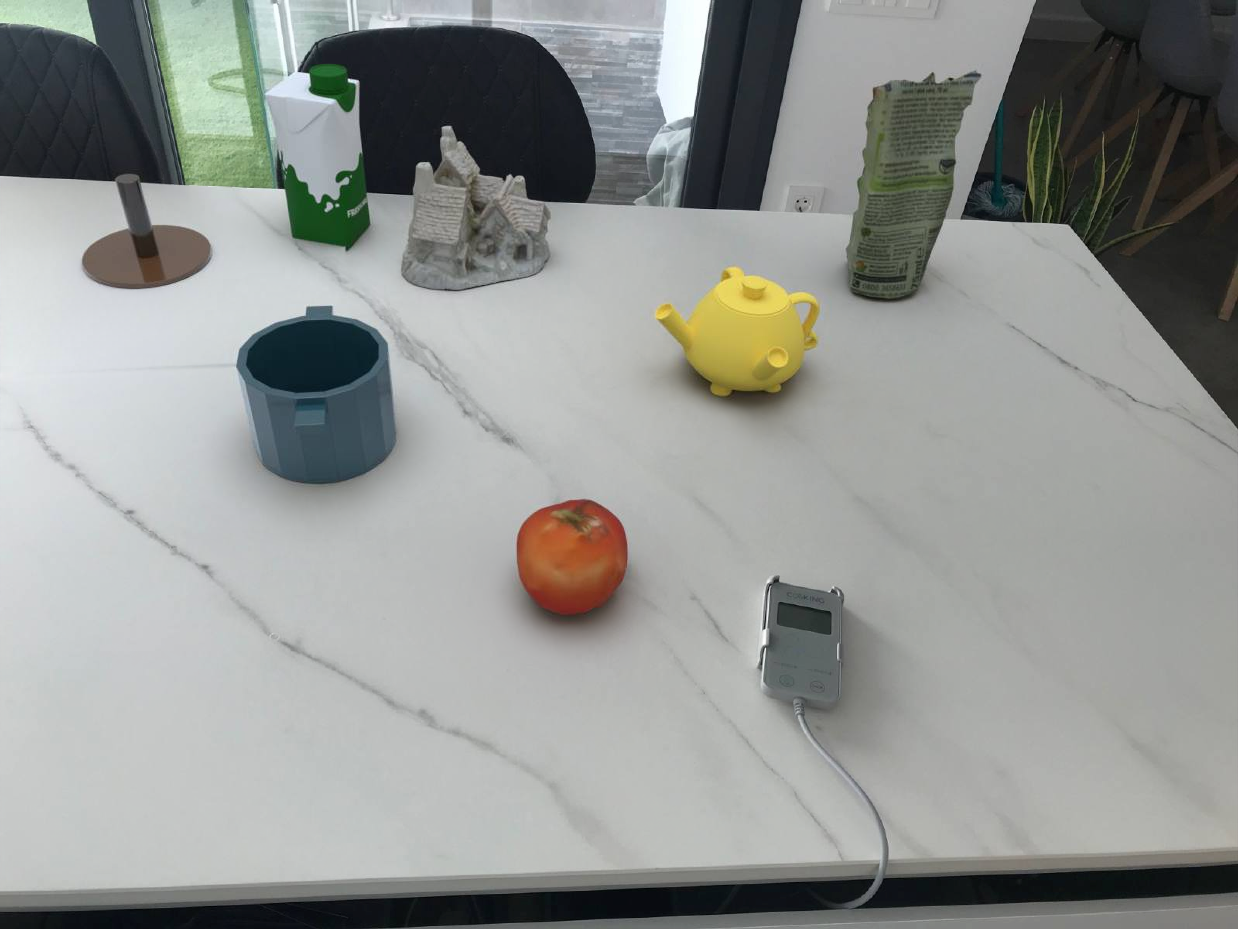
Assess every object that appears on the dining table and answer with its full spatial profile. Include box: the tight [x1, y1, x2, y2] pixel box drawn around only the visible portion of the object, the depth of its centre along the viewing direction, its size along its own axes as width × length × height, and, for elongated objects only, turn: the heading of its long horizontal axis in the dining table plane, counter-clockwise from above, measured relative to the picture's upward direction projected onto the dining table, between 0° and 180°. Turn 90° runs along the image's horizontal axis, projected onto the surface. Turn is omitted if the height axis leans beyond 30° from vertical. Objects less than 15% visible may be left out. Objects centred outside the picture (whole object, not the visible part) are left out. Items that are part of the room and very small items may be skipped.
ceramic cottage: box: [400, 125, 552, 291], centre depth 113 cm, size 16×16×15 cm
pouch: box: [845, 69, 983, 300], centre depth 113 cm, size 11×12×25 cm
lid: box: [81, 173, 213, 289], centre depth 109 cm, size 14×14×10 cm
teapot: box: [654, 266, 820, 397], centre depth 100 cm, size 14×14×11 cm
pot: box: [235, 305, 397, 484], centre depth 88 cm, size 13×18×10 cm
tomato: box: [516, 498, 629, 616], centre depth 77 cm, size 9×9×8 cm
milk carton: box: [264, 63, 371, 251], centre depth 114 cm, size 9×9×20 cm
